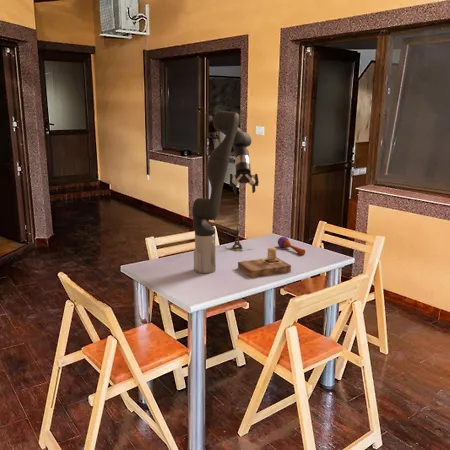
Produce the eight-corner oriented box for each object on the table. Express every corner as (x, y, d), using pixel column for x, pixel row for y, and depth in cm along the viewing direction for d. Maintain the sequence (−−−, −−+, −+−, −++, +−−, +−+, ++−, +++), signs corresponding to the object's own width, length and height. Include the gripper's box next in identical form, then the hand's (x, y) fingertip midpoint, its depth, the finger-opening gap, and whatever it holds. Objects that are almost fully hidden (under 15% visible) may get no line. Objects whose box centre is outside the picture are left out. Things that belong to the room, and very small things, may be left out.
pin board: (251, 277, 210) (251, 270, 209) (237, 268, 222) (238, 261, 221) (290, 271, 217) (291, 265, 216) (275, 263, 230) (276, 256, 229)
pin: (269, 269, 221) (270, 250, 219) (265, 266, 224) (266, 248, 222) (277, 268, 222) (277, 249, 220) (273, 265, 226) (273, 247, 224)
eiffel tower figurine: (220, 247, 258) (219, 223, 255) (234, 244, 264) (234, 220, 261) (238, 253, 247) (238, 228, 244) (252, 250, 253) (253, 225, 250)
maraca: (297, 249, 240) (275, 237, 256) (298, 259, 242) (276, 247, 259) (307, 245, 242) (284, 233, 259) (307, 255, 244) (285, 243, 261)
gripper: (229, 161, 238) (230, 187, 229) (257, 161, 238) (260, 187, 230) (228, 170, 244) (229, 196, 236) (256, 170, 245) (258, 196, 236)
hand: (244, 192), depth 233 cm, fingers open, 8 cm apart
